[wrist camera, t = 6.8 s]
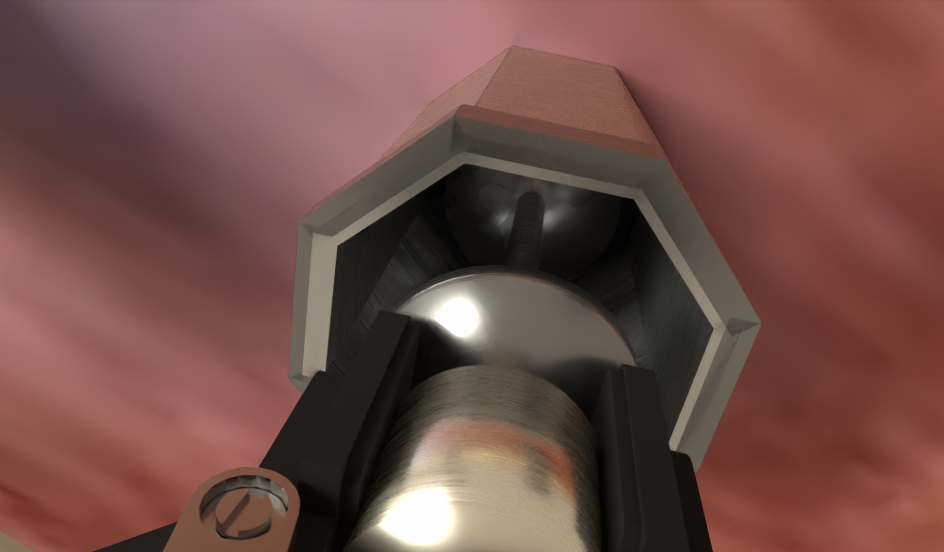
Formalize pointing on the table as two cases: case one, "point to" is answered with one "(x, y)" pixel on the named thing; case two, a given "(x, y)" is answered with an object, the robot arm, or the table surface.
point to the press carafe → (552, 159)
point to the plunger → (502, 380)
